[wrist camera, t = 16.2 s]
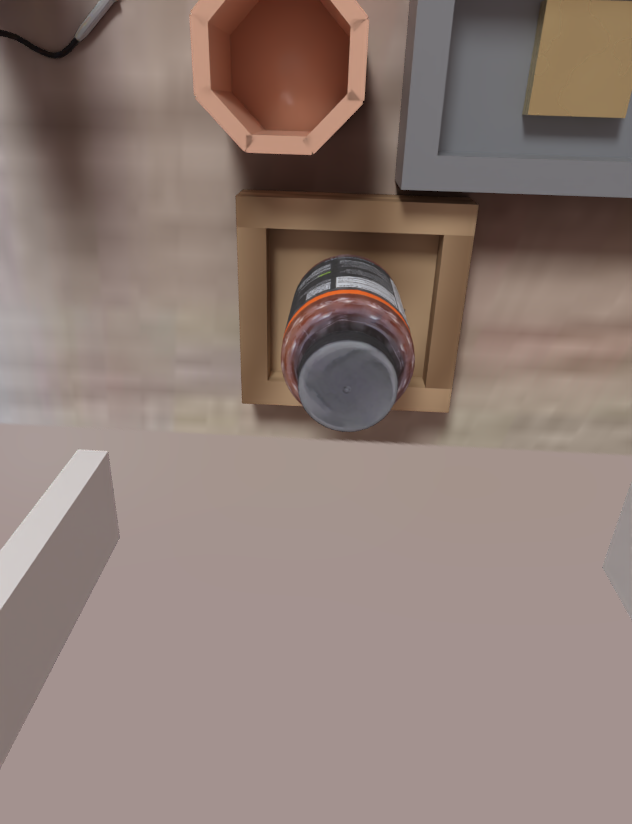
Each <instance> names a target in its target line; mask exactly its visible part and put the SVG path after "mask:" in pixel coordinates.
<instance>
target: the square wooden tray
mask: <svg viewBox="0 0 632 824" xmlns="http://www.w3.org/2000/svg"><path fill="white" fill-rule="evenodd" d="M478 207H479V205H478V204H477V203H476V202H474V201H473V200H472V199H471V198H465V197H437V196H409V195H381V194H353V193H325V192H297V191H269V190H242V191H241V192H240V193H239V194H237V195H236V224H237V256H238V288H239V320H240V352H241V383H242V403H245V404H267V405H289V406H302V405H301V404H300V403H299V402H298V401H297V400H296V399H295V397H294V396H293V395H292V393H291V392H290V390H289V388H288V386H287V385H286V382H285V380H284V377H283V373H282V369H281V348H282V341H283V337H284V332H285V328H286V325H287V321H288V317H289V313H290V309H291V305H292V301H293V298H294V294H295V291H296V289H297V286H298V284H299V283H300V281H301V279H302V278H303V276H304V275H305V274H306V273H307V272H308V271H309V270H310V269H311V268H312V267H313V266H314V265H316V264H317V263H319V262H321V261H323V260H324V259H327V258H330V257H333V256H337V255H346V254H349V255H356V256H362V257H365V258H367V259H370V260H372V261H374V262H375V263H377V264H378V265H380V266H381V267H382V268H383V269H384V270H385V271H386V272H387V273H388V274H389V276H390V277H391V279H392V280H393V282H394V284H395V285H396V288H397V290H398V293H399V296H400V299H401V302H402V306H403V309H405V315H406V318H407V322H408V325H409V327H410V332H411V337H412V340H413V345H414V353H415V364H414V365H415V367H414V372H413V375H412V378H411V381H410V383H409V385H408V387H407V389H406V391H405V392H404V393H403V395H402V396H401V397H400V398H399V399H398V401H397V402H396V403H395V404H394V405H393V407H392V408H391V410H401V411H423V412H446V413H448V412H449V405H450V399H451V392H452V385H453V378H454V371H455V364H456V357H457V351H458V344H459V337H460V330H461V323H462V316H463V310H464V303H465V296H466V289H467V282H468V275H469V269H470V262H471V255H472V248H473V241H474V234H475V227H476V221H477V214H478Z"/></svg>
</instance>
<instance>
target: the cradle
mask: <svg viewBox="0 0 632 824" xmlns="http://www.w3.org/2000/svg"><path fill="white" fill-rule="evenodd" d="M542 1H544V0H410V3H409V15H408V27H407V39H406V51H405V63H404V75H403V87H402V99H401V111H400V123H399V135H398V147H397V159H396V172H395V181H396V182H397V184H398V186H399V187H400V189H401V190H425V191H453V192H482V193H510V194H538V195H566V196H594V197H622V198H632V92H631V96H630V101H629V105H628V109H627V113H626V117H625V118H607V117H576V116H545V115H522V112H523V106H524V100H525V94H526V88H527V82H528V76H529V70H530V64H531V58H532V52H533V46H534V40H535V34H536V28H537V22H538V16H539V10H540V4H541V2H542ZM611 1H632V0H611Z"/></svg>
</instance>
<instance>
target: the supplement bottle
mask: <svg viewBox="0 0 632 824" xmlns="http://www.w3.org/2000/svg"><path fill="white" fill-rule="evenodd" d="M414 364H415V353H414V345H413V340H412V337H411V332H410V327H409V325H408V322H407V318H406V315H405V309H403V306H402V302H401V299H400V296H399V293H398V290H397V288H396V285H395V284H394V282H393V280H392V279H391V277H390V276H389V274H388V273H387V272H386V271H385V270H384V269H383V268H382V267H381V266H380V265H378V264H377V263H375V262H374V261H372V260H370V259H367V258H365V257H362V256H356V255H349V254H346V255H337V256H333V257H330V258H327V259H324V260H323V261H321V262H319V263H317V264H316V265H314V266H313V267H312V268H311V269H310V270H309V271H308V272H307V273H306V274H305V275H304V276H303V278H302V279H301V281H300V283H299V284H298V286H297V289H296V291H295V294H294V298H293V301H292V305H291V309H290V313H289V317H288V321H287V325H286V328H285V332H284V337H283V341H282V348H281V369H282V373H283V377H284V380H285V382H286V385H287V386H288V388H289V390H290V392H291V393H292V395H293V396H294V397H295V399H296V400H297V401H298V402H299V403H300V404H301V405H302V406H303V407H304V409H305V410H306V412H307V413H308V414H309V415H310V416H311V417H312V418H313V419H314V420H315V421H317V422H318V423H319V424H321V425H323V426H325V427H327V428H330V429H332V430H337V431H342V432H345V431H346V432H354V431H359V430H363V429H367V428H369V427H371V426H373V425H375V424H377V423H378V422H379V421H381V420H382V419H383V418H384V417H385V416H386V415H387V414H388V413H389V411H390V410H391V408H392V407H393V405H394V404H395V403H396V402H397V401H398V399H399V398H400V397H401V396H402V395H403V393H404V392H405V391H406V389H407V387H408V385H409V383H410V381H411V378H412V375H413V372H414V367H415V365H414Z"/></svg>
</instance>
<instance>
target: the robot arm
mask: <svg viewBox="0 0 632 824" xmlns="http://www.w3.org/2000/svg"><path fill="white" fill-rule="evenodd" d="M119 538H120V535H119V528H118V520H117V514H116V506H115V499H114V492H113V484H112V477H111V469H110V462H109V454H108V451H96V450H95V451H94V450H79V449H78V450H77V452H76V453H75V454H74V456H73V457H72V458H71V459H70V461H69V462H68V463H67V464H66V466H65V467H64V468H63V470H62V471H61V472H60V474H59V475H58V476H57V478H56V479H55V480H54V481H53V483H52V484H51V485H50V487H49V488H48V489H47V491H46V492H45V493H44V495H43V496H42V497H41V498H40V500H39V501H38V502H37V504H36V505H35V506H34V507H33V509H32V510H31V511H30V513H29V514H28V515H27V517H26V518H25V519H24V520H23V522H22V523H21V524H20V526H19V527H18V528H17V530H16V531H15V532H14V533H13V535H12V536H11V537H10V539H9V540H8V541H7V543H6V544H5V545H4V547H3V548H2V549H1V550H0V768H1V766H2V764H3V763H4V761H5V759H6V757H7V755H8V753H9V751H10V749H11V747H12V745H13V743H14V741H15V739H16V737H17V735H18V733H19V732H20V730H21V728H22V726H23V724H24V722H25V720H26V718H27V716H28V714H29V712H30V710H31V708H32V706H33V704H34V703H35V701H36V699H37V697H38V695H39V693H40V691H41V689H42V687H43V685H44V683H45V681H46V679H47V677H48V675H49V673H50V672H51V670H52V668H53V666H54V664H55V662H56V660H57V658H58V656H59V654H60V652H61V650H62V648H63V646H64V645H65V643H66V641H67V639H68V637H69V635H70V633H71V631H72V629H73V627H74V625H75V623H76V621H77V619H78V617H79V616H80V614H81V612H82V610H83V608H84V606H85V604H86V602H87V600H88V598H89V596H90V594H91V592H92V590H93V588H94V586H95V584H96V583H97V581H98V579H99V577H100V575H101V573H102V571H103V569H104V567H105V565H106V563H107V561H108V559H109V557H110V555H111V553H112V552H113V550H114V548H115V546H116V544H117V542H118V540H119ZM602 568H603V569H604V571H605V573H606V575H607V577H608V578H609V580H610V582H611V584H612V586H613V587H614V589H615V591H616V593H617V594H618V596H619V598H620V600H621V602H622V604H623V605H624V607H625V609H626V611H627V612H628V614H629V616H630V618H631V620H632V482H631V484H630V488H629V490H628V493H627V496H626V499H625V502H624V505H623V508H622V511H621V514H620V517H619V520H618V523H617V526H616V529H615V531H614V534H613V537H612V540H611V543H610V546H609V549H608V552H607V555H606V558H605V561H604V564H603V567H602Z"/></svg>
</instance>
